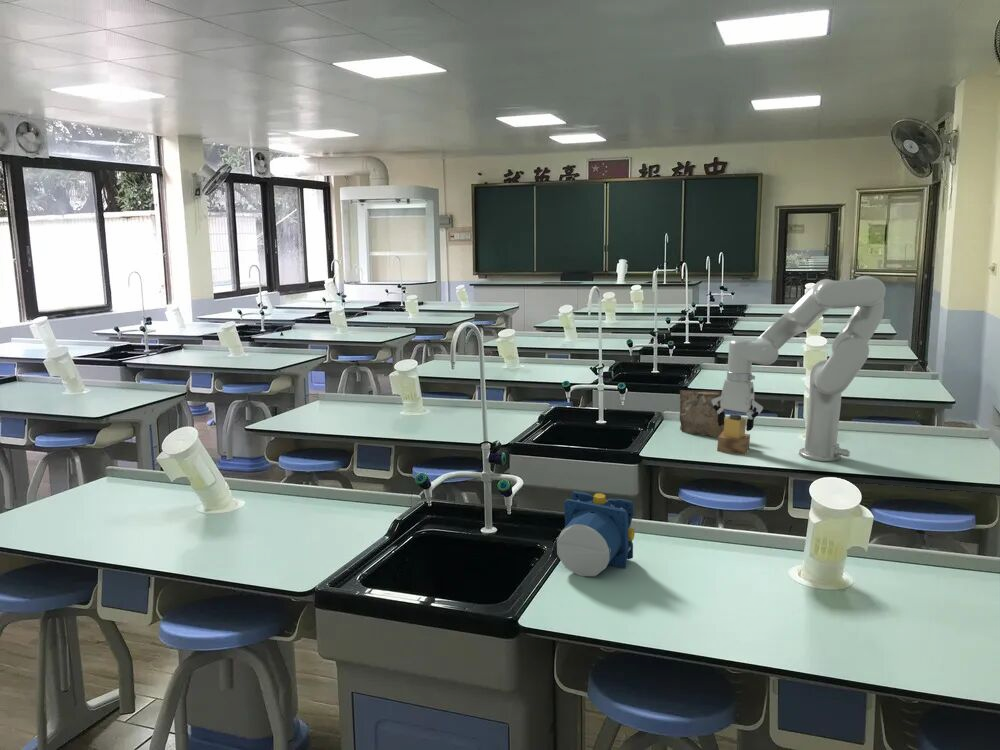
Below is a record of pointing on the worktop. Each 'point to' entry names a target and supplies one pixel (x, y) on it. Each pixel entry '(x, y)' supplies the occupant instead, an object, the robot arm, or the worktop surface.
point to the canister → (734, 426)
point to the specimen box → (733, 444)
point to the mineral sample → (699, 412)
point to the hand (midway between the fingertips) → (734, 427)
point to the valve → (595, 533)
